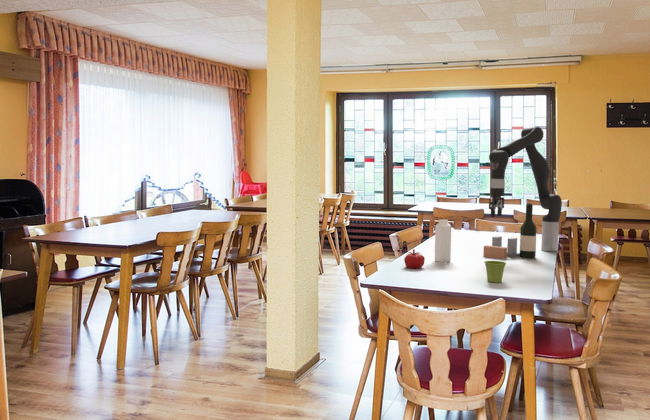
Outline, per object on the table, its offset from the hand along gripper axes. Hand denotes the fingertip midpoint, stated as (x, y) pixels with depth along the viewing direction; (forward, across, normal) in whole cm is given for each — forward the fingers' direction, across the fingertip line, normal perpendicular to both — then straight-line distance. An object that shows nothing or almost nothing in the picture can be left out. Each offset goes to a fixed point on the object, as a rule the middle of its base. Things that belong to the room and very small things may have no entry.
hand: (496, 216), depth 348 cm
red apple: (+24, +59, -15) cm, 65 cm away
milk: (+23, +32, -15) cm, 42 cm away
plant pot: (+23, +64, +30) cm, 75 cm away
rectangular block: (+22, +2, +1) cm, 23 cm away
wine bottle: (+22, -9, +15) cm, 28 cm away
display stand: (+22, -9, +2) cm, 24 cm away
